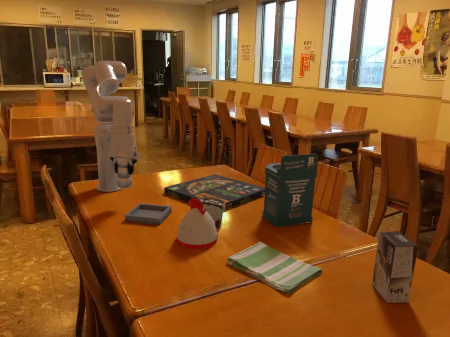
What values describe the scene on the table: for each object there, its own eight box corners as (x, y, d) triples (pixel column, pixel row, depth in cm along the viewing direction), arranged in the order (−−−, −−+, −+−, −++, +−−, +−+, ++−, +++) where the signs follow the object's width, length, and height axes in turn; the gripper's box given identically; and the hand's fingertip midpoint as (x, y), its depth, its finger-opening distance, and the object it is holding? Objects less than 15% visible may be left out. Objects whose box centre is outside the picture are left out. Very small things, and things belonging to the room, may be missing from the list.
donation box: (276, 227, 143) (281, 155, 135) (257, 212, 157) (261, 147, 150) (312, 222, 148) (318, 153, 141) (291, 208, 163) (296, 145, 156)
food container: (230, 224, 144) (230, 199, 142) (223, 230, 139) (224, 204, 136) (201, 218, 149) (202, 194, 147) (194, 223, 144) (194, 199, 141)
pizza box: (267, 195, 181) (267, 188, 180) (218, 214, 156) (218, 206, 155) (214, 180, 203) (214, 174, 202) (164, 194, 178) (164, 187, 177)
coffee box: (410, 302, 98) (420, 246, 94) (386, 303, 97) (395, 246, 93) (392, 283, 107) (400, 231, 102) (370, 283, 106) (378, 231, 102)
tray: (139, 208, 157) (139, 203, 157) (171, 211, 155) (171, 206, 154) (125, 221, 144) (124, 215, 143) (159, 224, 142) (159, 218, 141)
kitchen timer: (199, 228, 140) (199, 190, 136) (225, 241, 130) (226, 200, 126) (169, 239, 130) (168, 198, 126) (194, 253, 121) (195, 209, 117)
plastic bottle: (134, 185, 160) (133, 139, 154) (129, 190, 154) (128, 143, 148) (120, 184, 161) (118, 138, 155) (114, 189, 154) (112, 142, 148)
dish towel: (287, 297, 99) (288, 288, 98) (224, 265, 115) (224, 256, 114) (322, 273, 112) (323, 265, 111) (261, 247, 127) (261, 239, 127)
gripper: (98, 129, 148) (100, 173, 153) (139, 133, 145) (140, 177, 150) (107, 126, 155) (109, 168, 160) (146, 130, 152) (147, 172, 157)
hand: (124, 172), depth 155 cm, fingers closed on plastic bottle, 5 cm apart
